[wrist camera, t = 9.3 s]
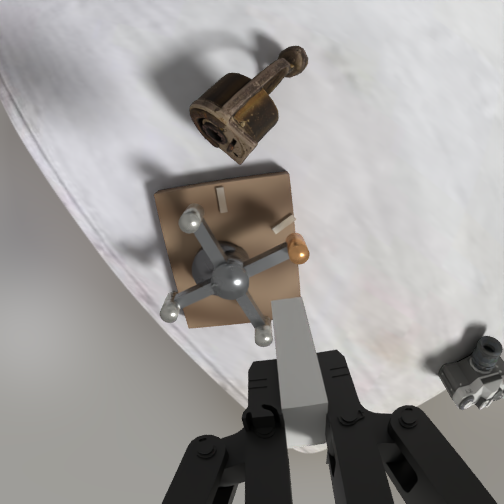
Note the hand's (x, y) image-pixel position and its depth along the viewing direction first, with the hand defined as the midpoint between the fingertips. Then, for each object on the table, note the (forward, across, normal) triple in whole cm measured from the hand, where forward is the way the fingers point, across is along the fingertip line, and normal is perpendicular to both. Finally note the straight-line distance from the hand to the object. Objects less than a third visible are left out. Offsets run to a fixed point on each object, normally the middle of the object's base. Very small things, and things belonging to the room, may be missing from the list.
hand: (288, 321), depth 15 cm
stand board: (+20, -4, -5) cm, 21 cm away
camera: (+21, +36, -31) cm, 51 cm away
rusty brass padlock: (+21, 0, +12) cm, 24 cm away
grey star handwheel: (+18, -4, -5) cm, 19 cm away
